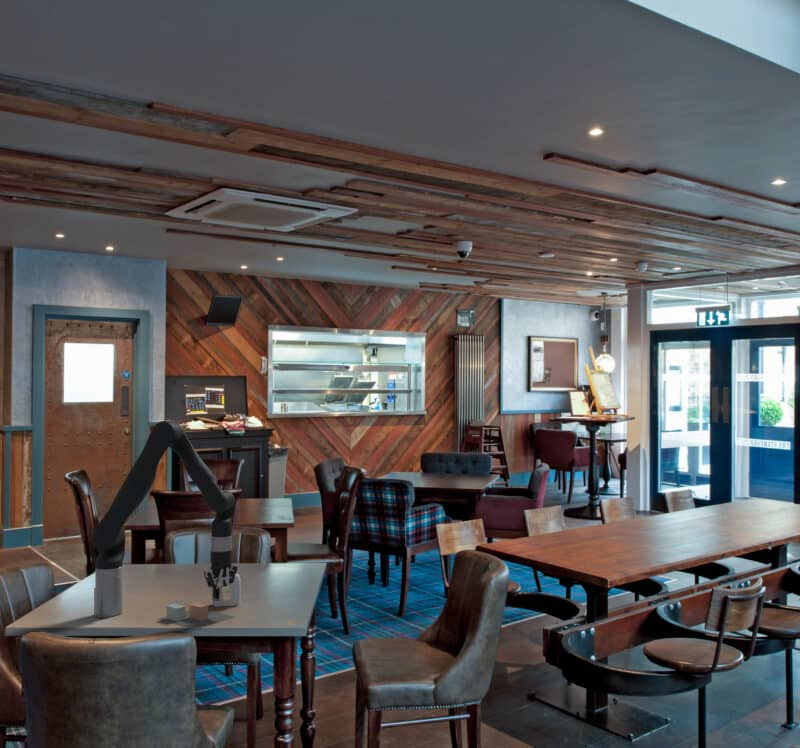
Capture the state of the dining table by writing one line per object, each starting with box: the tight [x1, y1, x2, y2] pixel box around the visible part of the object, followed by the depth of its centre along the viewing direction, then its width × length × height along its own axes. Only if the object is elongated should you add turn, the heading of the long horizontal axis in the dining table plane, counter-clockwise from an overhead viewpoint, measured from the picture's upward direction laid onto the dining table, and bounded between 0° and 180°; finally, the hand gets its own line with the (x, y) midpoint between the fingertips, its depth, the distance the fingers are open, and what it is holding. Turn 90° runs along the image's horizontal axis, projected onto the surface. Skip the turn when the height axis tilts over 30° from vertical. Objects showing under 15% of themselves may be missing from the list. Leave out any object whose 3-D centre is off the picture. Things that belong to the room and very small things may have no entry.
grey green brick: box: [166, 603, 186, 622], centre depth 277 cm, size 6×3×4 cm, turn 53°
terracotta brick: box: [188, 602, 209, 621], centre depth 279 cm, size 6×3×4 cm, turn 53°
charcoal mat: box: [157, 609, 235, 631], centre depth 278 cm, size 20×18×1 cm
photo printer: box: [212, 573, 242, 607], centre depth 296 cm, size 10×4×12 cm, turn 95°
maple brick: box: [210, 586, 231, 602], centre depth 280 cm, size 6×3×4 cm, turn 53°
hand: (220, 597), depth 280 cm, fingers closed on maple brick, 3 cm apart
